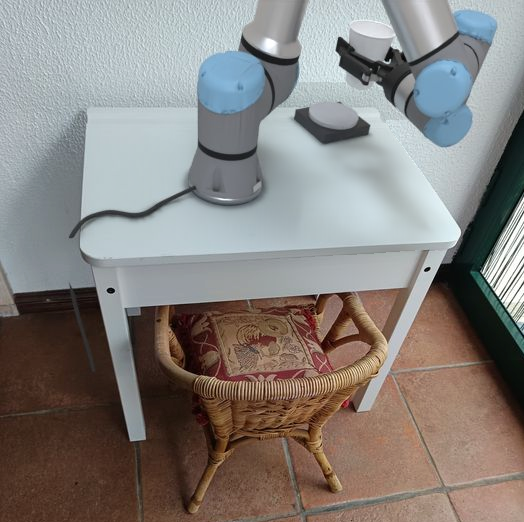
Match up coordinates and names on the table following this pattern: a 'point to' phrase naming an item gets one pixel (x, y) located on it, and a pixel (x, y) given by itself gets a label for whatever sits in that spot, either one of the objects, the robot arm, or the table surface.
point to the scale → (331, 121)
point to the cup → (369, 44)
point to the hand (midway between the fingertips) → (356, 43)
